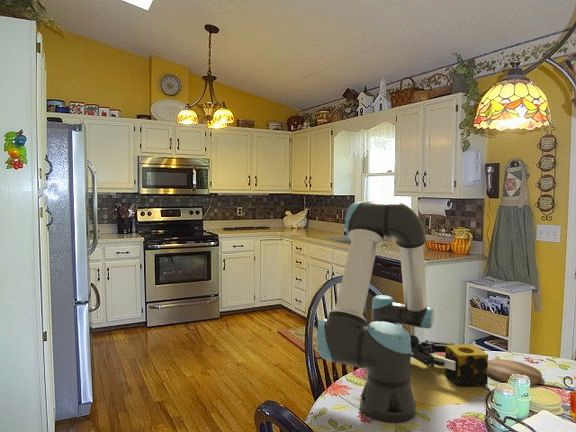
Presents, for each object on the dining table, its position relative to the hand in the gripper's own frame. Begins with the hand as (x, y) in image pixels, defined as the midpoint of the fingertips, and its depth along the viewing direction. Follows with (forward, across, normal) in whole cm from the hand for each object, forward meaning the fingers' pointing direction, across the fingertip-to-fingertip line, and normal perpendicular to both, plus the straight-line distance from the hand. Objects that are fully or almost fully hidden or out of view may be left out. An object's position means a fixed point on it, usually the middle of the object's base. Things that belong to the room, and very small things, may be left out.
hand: (464, 360), depth 140 cm
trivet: (+10, -16, -6) cm, 20 cm away
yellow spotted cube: (+1, 0, -6) cm, 6 cm away
